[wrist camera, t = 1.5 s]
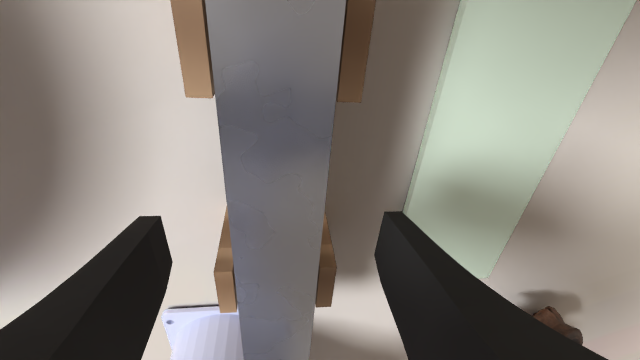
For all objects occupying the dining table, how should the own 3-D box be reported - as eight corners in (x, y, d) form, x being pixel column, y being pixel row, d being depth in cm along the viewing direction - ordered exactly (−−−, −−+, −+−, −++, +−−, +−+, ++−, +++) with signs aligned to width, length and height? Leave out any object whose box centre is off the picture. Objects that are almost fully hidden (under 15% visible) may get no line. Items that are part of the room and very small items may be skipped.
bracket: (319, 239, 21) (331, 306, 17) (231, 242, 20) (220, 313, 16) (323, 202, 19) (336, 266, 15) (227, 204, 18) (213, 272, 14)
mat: (483, 271, 25) (487, 278, 24) (384, 276, 24) (387, 283, 23) (643, -39, 14) (657, -39, 13) (475, -57, 13) (484, -58, 12)
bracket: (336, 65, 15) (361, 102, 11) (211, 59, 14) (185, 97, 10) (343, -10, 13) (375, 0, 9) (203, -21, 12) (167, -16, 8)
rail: (304, 306, 19) (309, 361, 16) (248, 309, 18) (244, 367, 16) (333, -88, 9) (357, -111, 6) (216, -101, 9) (190, -132, 6)
